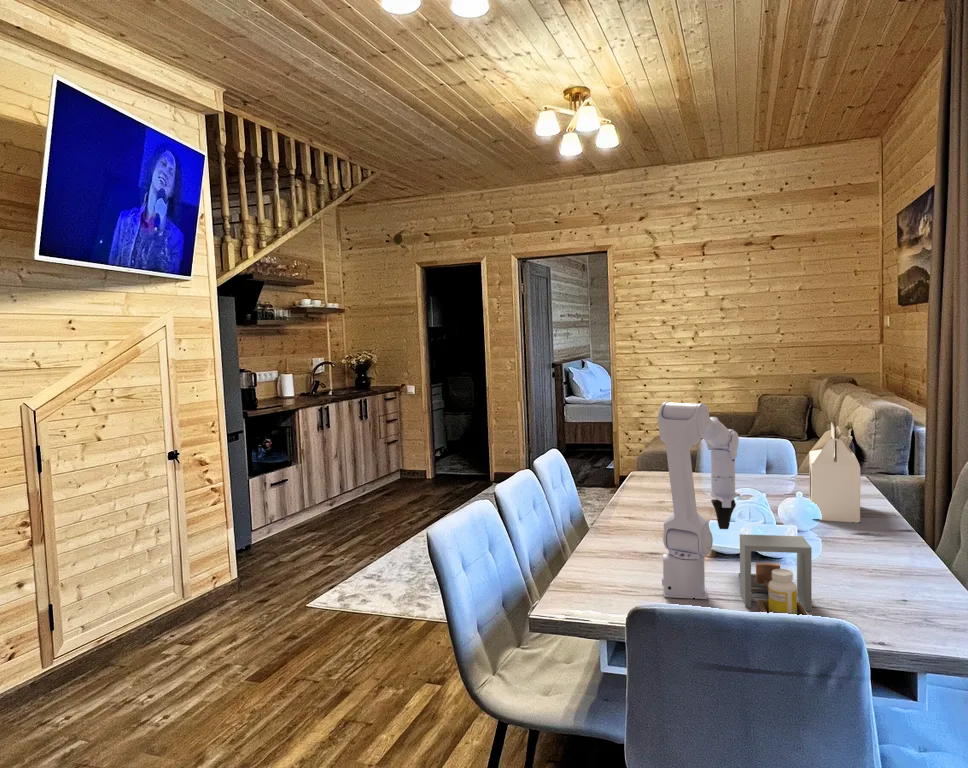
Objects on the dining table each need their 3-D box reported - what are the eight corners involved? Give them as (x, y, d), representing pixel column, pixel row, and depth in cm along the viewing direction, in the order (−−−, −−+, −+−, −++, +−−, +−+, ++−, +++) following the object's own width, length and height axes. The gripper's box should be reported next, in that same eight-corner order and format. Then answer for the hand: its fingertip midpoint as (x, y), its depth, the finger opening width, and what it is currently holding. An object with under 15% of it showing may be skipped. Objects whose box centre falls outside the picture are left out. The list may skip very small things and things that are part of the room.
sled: (765, 625, 138) (765, 599, 138) (748, 584, 159) (748, 562, 159) (809, 627, 136) (809, 601, 136) (786, 586, 158) (786, 563, 157)
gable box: (860, 523, 205) (860, 431, 202) (811, 520, 210) (811, 429, 208) (853, 505, 225) (854, 420, 223) (809, 502, 230) (809, 420, 228)
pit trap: (744, 591, 156) (744, 588, 156) (738, 576, 166) (738, 573, 166) (796, 594, 154) (796, 590, 154) (787, 578, 163) (787, 575, 163)
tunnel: (745, 607, 148) (744, 545, 147) (740, 593, 155) (739, 534, 154) (811, 610, 145) (811, 547, 144) (802, 596, 152) (802, 536, 151)
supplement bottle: (788, 611, 145) (788, 566, 144) (802, 622, 139) (802, 575, 139) (763, 613, 144) (763, 568, 144) (776, 624, 139) (776, 577, 138)
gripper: (744, 482, 164) (744, 537, 166) (735, 469, 179) (736, 520, 180) (713, 481, 166) (713, 536, 167) (707, 469, 180) (708, 520, 181)
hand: (723, 528), depth 173 cm, fingers closed
